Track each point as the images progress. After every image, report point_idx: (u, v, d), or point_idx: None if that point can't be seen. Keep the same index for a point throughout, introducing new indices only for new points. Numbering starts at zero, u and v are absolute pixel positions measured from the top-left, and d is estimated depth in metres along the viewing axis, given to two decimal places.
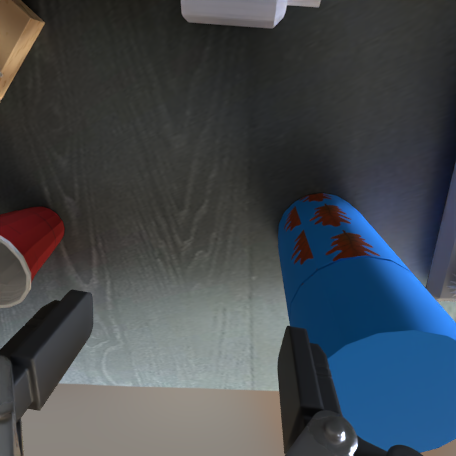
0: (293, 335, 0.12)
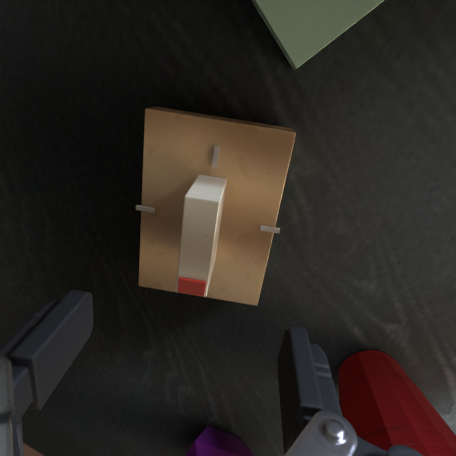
0: (293, 335, 0.12)
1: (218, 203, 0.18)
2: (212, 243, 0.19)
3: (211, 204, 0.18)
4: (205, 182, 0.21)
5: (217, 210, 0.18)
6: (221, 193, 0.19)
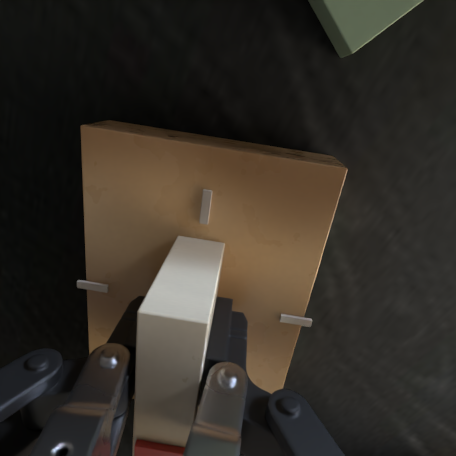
0: (219, 303, 0.13)
1: (206, 325, 0.09)
2: (196, 391, 0.10)
3: (192, 327, 0.09)
4: (186, 258, 0.12)
5: (204, 337, 0.09)
6: (214, 290, 0.10)
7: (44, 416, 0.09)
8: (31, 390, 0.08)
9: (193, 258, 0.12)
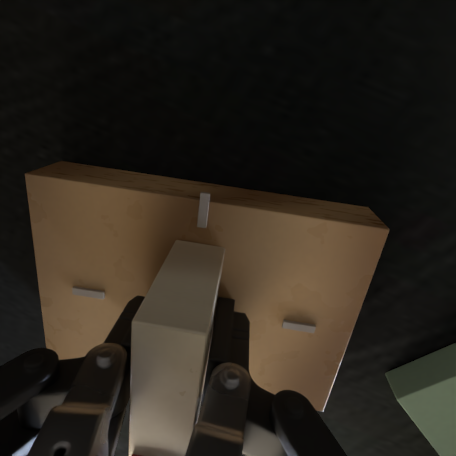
0: (220, 304, 0.13)
1: (205, 337, 0.08)
2: (194, 405, 0.09)
3: (189, 338, 0.08)
4: (184, 263, 0.11)
5: (203, 349, 0.08)
6: (213, 298, 0.10)
7: (41, 416, 0.09)
8: (27, 389, 0.08)
9: (191, 264, 0.11)
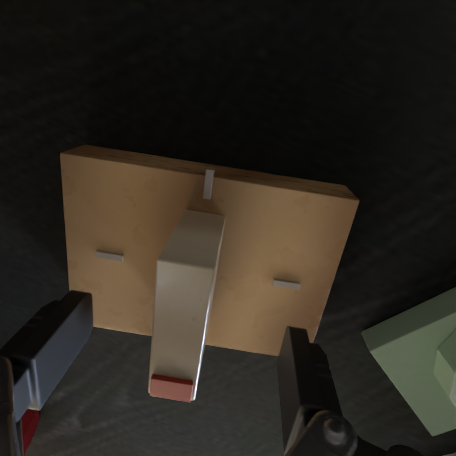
0: (293, 335, 0.12)
1: (212, 271, 0.11)
2: (203, 329, 0.12)
3: (200, 272, 0.11)
4: (193, 225, 0.14)
5: (211, 281, 0.11)
6: (217, 248, 0.12)
7: None
8: None
9: (199, 226, 0.14)
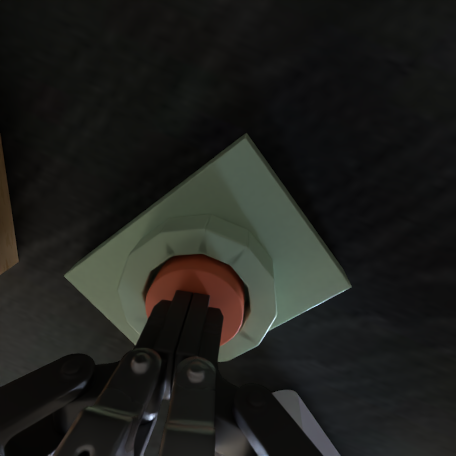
0: (195, 299, 0.13)
1: None
2: None
3: None
4: None
5: None
6: None
7: None
8: (67, 396, 0.08)
9: None
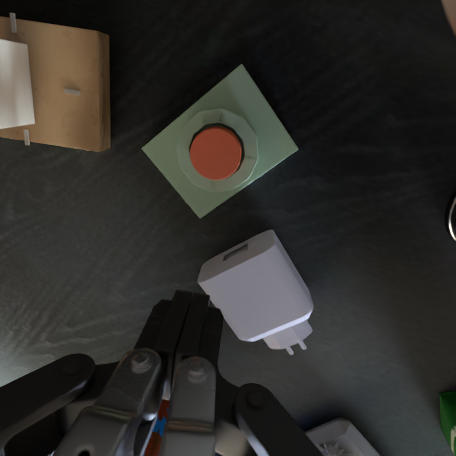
0: (195, 299, 0.13)
1: None
2: None
3: None
4: None
5: None
6: None
7: None
8: (67, 396, 0.08)
9: None
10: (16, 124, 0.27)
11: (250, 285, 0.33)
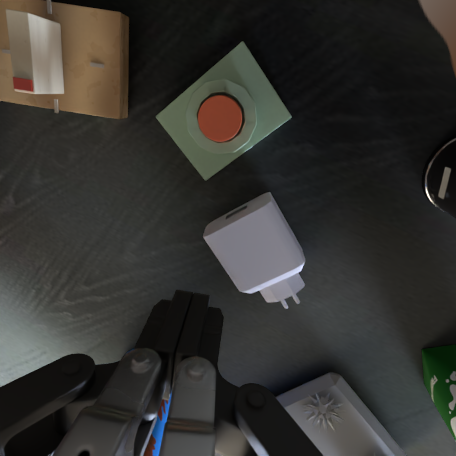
0: (195, 299, 0.13)
1: (27, 13, 0.27)
2: (30, 47, 0.28)
3: (23, 14, 0.27)
4: None
5: (27, 19, 0.27)
6: (38, 16, 0.29)
7: None
8: (67, 396, 0.08)
9: None
10: (50, 92, 0.32)
11: (249, 239, 0.37)
